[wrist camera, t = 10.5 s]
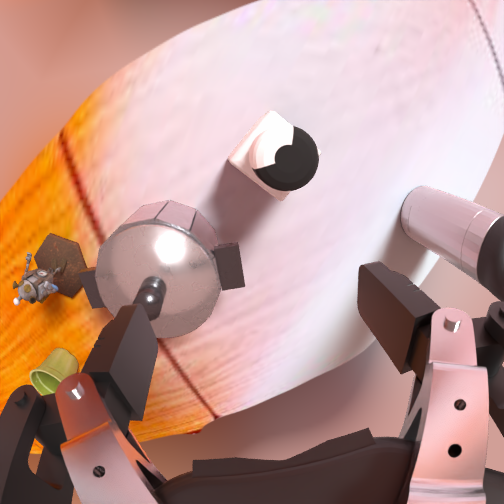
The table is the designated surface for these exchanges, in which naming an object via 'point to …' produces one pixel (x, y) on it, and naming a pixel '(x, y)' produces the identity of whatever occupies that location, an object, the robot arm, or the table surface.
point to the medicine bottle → (276, 155)
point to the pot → (188, 222)
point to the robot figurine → (52, 271)
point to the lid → (159, 277)
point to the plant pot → (53, 371)
